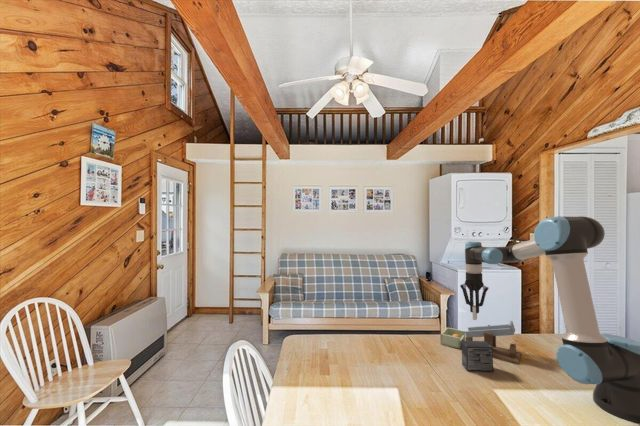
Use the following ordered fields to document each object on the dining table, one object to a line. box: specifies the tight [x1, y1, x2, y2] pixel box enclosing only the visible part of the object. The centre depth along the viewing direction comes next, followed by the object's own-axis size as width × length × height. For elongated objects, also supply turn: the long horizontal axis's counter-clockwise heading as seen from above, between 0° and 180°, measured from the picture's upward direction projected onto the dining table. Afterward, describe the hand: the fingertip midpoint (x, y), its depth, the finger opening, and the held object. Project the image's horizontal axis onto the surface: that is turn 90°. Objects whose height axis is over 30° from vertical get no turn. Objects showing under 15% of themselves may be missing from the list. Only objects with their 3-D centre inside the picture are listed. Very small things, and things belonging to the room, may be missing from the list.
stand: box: [460, 324, 521, 364], centre depth 143 cm, size 11×23×11 cm, turn 52°
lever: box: [464, 320, 516, 338], centre depth 145 cm, size 14×20×4 cm
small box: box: [461, 340, 494, 373], centre depth 128 cm, size 11×6×10 cm, turn 84°
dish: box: [440, 326, 466, 350], centre depth 153 cm, size 11×9×5 cm
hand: (474, 319), depth 153 cm, fingers closed
